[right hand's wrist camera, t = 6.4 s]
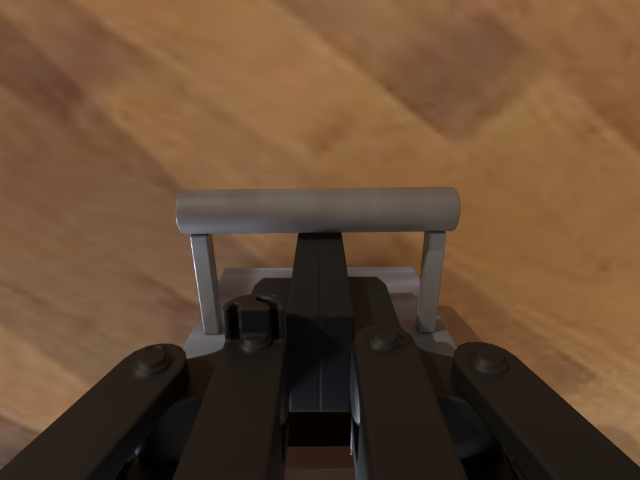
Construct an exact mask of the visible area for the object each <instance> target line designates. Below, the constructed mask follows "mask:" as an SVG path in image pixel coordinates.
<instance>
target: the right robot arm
mask: <svg viewBox="0 0 640 480" xmlns="http://www.w3.org/2000/svg"><path fill="white" fill-rule="evenodd" d="M222 316H223V325H224V334H225V343H224V346H223V348H222V349H220V350H218V351H216V352H213V353H210V354H206V355H202V356H198V357H193V358H188V359H187V357H186V352H185V351H184V350H183V349H182V348H181V347H179V346H176V345H173V344H155V345H150V346H147V347H144V348H142V349H139V350H137V351H135V352H133V353H132V354H130V355H129V356H127V357H126V358H124V359H123V360H122V361H121V362H120V363H119V364H118V365H117V366H116V367H114V368H113V369H112V370H111V371H110V372H109V373H108V374H107V375H106V376H104V377H103V378H102V379H101V380H100V381H99V382H98V383H97V384H96V385H94V386H93V387H92V388H91V389H90V390H89V391H88V392H87V393H86V394H84V395H83V396H82V397H81V398H80V399H79V400H78V401H77V402H76V403H74V404H73V405H72V406H71V407H70V408H69V409H68V410H67V411H66V412H64V413H63V414H62V415H61V416H60V417H59V418H58V419H57V420H56V421H54V422H53V423H52V424H51V425H50V426H49V427H48V428H47V429H45V430H44V431H43V432H42V433H41V434H40V435H39V436H38V437H37V438H35V439H34V440H33V441H32V442H31V443H30V444H29V445H28V446H27V447H25V448H24V449H23V450H22V451H21V452H20V453H19V454H18V455H17V456H15V457H14V458H13V459H12V460H11V461H10V462H9V463H8V464H7V465H5V466H4V467H3V468H2V469H1V470H0V480H284V479H285V468H286V457H287V446H288V434H289V422H288V411H289V412H351V409H352V422H351V447H350V455H353V456H354V467H355V478H356V480H640V467H639V466H638V465H637V464H636V463H634V462H633V461H632V460H631V459H630V458H629V457H628V456H627V455H626V454H624V453H623V452H622V451H621V450H620V449H619V448H618V447H617V446H615V445H614V444H613V443H612V442H611V441H610V440H609V439H608V438H606V437H605V436H604V435H603V434H602V433H601V432H600V431H599V430H597V429H596V428H595V427H594V426H593V425H592V424H591V423H590V422H589V421H587V420H586V419H585V418H584V417H583V416H582V415H581V414H580V413H578V412H577V411H576V410H575V409H574V408H573V407H572V406H571V405H569V404H568V403H567V402H566V401H565V400H564V399H563V398H562V397H561V396H559V395H558V394H557V393H556V392H555V391H554V390H553V389H552V388H550V387H549V386H548V385H547V384H546V383H545V382H544V381H543V380H541V379H540V378H539V377H538V376H537V375H536V374H535V373H534V372H532V371H531V370H530V369H529V368H528V367H527V366H526V365H525V364H524V363H522V362H521V361H520V360H519V359H518V358H517V357H516V356H514V355H513V354H511V353H510V352H508V351H507V350H505V349H503V348H500V347H498V346H496V345H493V344H489V343H483V342H468V343H465V344H462V345H459V346H458V348H457V349H456V350H455V351H454V357H450V356H445V355H441V354H436V353H432V352H429V351H425V350H423V349H421V348H419V347H417V345H416V343H415V340H414V339H413V338H412V336H411V335H410V334H409V333H408V332H406V331H405V330H403V329H402V328H401V326H400V323H399V320H398V317H397V315H396V312H395V309H394V306H393V303H392V300H391V297H390V295H389V292H388V289H387V286H386V284H385V283H384V282H382V281H381V280H380V279H379V278H378V277H348V272H347V266H346V259H345V253H344V247H343V240H342V234H341V232H330V233H299V234H298V240H297V247H296V253H295V259H294V266H293V272H292V278H263V279H261V280H260V281H259V282H258V283H257V284H255V285H254V287H253V290H252V293H251V294H246V295H243V296H239V297H236V298H234V299H232V300H230V301H229V302H227V303H226V304H225V305H224V307H223V308H222Z"/></svg>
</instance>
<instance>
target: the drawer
mask: <svg viewBox="0 0 640 480" xmlns="http://www.w3.org/2000/svg"><path fill="white" fill-rule="evenodd" d="M175 215H176V222H177V225H178V228H179V230H180V231H181V232H182V233H183V234H192V235H191V236H190V240H191V247H192V254H193V260H194V267H195V274H196V281H197V287H198V294H199V301H200V308H201V315H200V317H199V319H198V321H197V323H196V325H195V326H194V328H193V330H192V332H191V334H190V336H189V338H188V340H187V341H186V343H185V345H184V347H183V350H184V351H185V352H186V357H187V359H188V358H193V357H198V356H202V355H206V354H210V353H213V352H216V351H218V350H220V349H222V348H223V346H224V343H225V334H224V325H223V316H222V308H223V307H224V305H225V304H226V303H227V302H229V301H230V300H232V299H234V298H236V297H239V296H243V295H246V294H251V293H252V290H253V287H254V285H255V284H257V283H258V282H259V281H260V280H261V279H263V278H292V272H293V267H287V268H226V269H225V270H224V272H223V274H222V276H221V278H220V280H219V282H218V280H217V272H216V264H215V256H214V248H213V240H212V234H240V233H330V232H420V231H425V233H424V244H423V254H422V264H421V274H420V278H419V276H418V274H417V273H416V271H415V269H414V267H413V266H378V267H347V272H348V277H378V278H379V279H380V280H381V281H382V282H384V283H385V284H386V286H387V289H388V292H389V295H390V297H391V300H392V303H393V306H394V309H395V312H396V315H397V317H398V320H399V323H400V326H401V328H402V329H403V330H405V331H406V332H408V333H409V334H410V335H411V336H412V338H413V339H414V340H415V343H416V345H417V347H419V348H421V349H423V350H425V351H429V352H432V353H436V354H441V355H445V356H450V357H454V351H455V350H456V349H457V346H456V344H455V342H454V340H453V338H452V337H451V335H450V333H449V331H448V329H447V327H446V326H445V324H444V322H443V320H442V318H441V316H440V315H439V313H438V311H437V307H438V299H439V291H440V282H441V274H442V266H443V257H444V249H445V241H446V233H445V231H453V230H455V228H456V227H457V225H458V222H459V217H460V199H459V195H458V192H457V190H456V189H455V188H453V187H420V188H332V189H244V190H182V191H180V192H179V194H178V196H177V199H176V205H175ZM288 422H289V434H288V446H287V447H308V446H351V422H352V409H351V412H289V411H288Z"/></svg>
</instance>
